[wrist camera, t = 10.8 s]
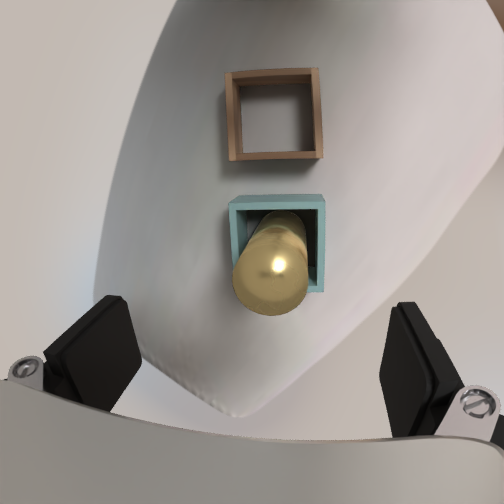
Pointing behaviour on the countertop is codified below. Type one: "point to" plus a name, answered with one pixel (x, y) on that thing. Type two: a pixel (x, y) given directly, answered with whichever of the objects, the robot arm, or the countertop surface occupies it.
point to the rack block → (280, 202)
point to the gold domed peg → (273, 266)
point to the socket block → (269, 78)
